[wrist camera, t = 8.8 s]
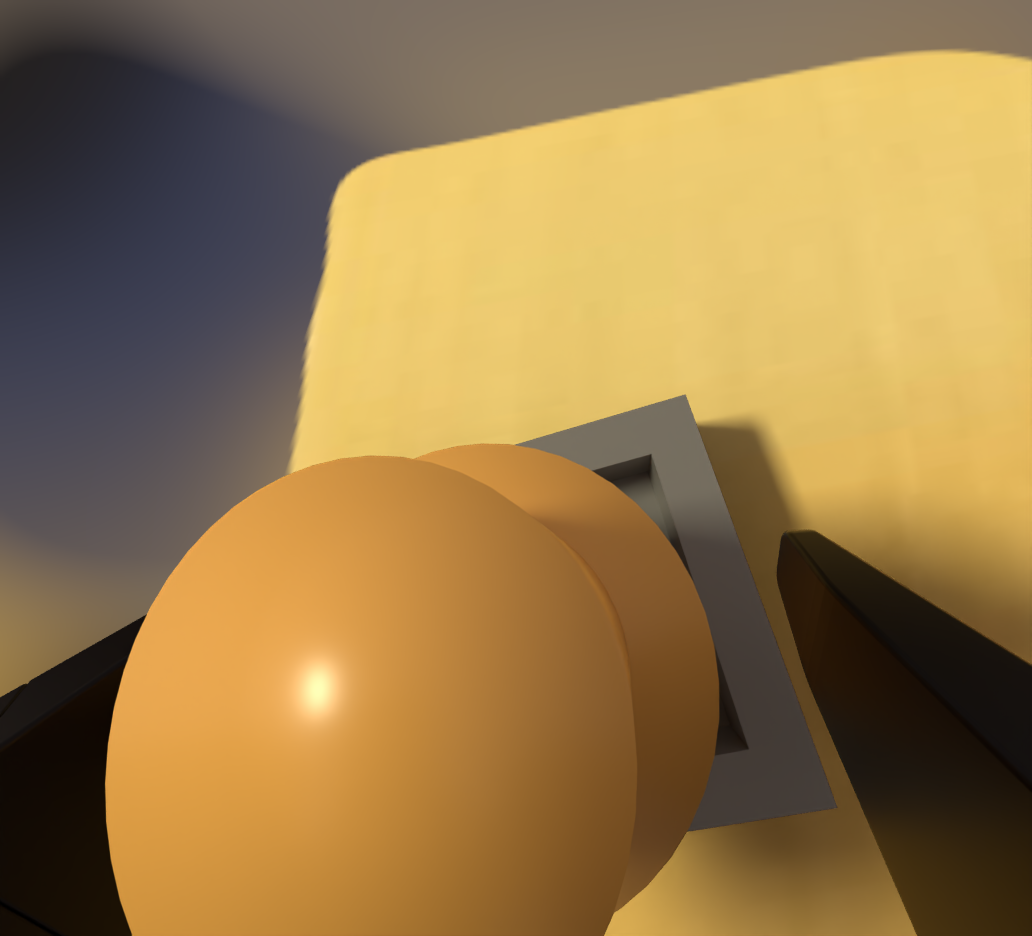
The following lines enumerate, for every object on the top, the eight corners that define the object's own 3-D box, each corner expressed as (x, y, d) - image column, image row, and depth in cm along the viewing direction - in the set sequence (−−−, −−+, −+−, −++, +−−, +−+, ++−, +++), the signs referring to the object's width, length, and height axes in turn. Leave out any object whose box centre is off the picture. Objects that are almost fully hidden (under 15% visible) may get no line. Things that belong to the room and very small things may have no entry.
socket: (796, 765, 14) (837, 807, 11) (446, 825, 15) (410, 875, 13) (675, 424, 17) (685, 394, 14) (396, 504, 19) (358, 491, 16)
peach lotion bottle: (697, 661, 14) (1121, 1091, 2) (528, 751, 15) (67, 1552, 3) (596, 495, 16) (513, 214, 4) (449, 579, 17) (-34, 560, 4)
